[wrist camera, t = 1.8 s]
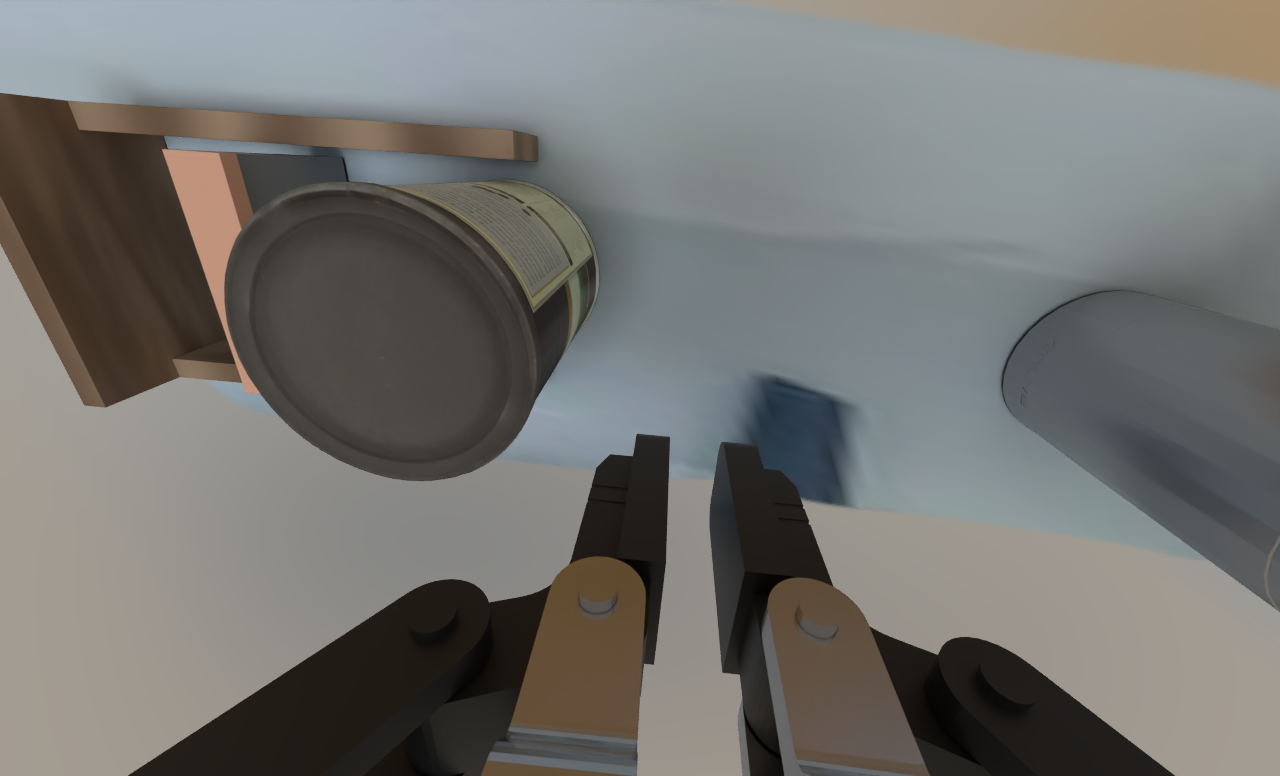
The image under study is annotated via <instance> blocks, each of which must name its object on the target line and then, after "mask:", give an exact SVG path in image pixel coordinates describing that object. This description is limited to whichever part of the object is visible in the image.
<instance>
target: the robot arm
mask: <svg viewBox="0 0 1280 776" xmlns="http://www.w3.org/2000/svg"><path fill="white" fill-rule="evenodd" d="M1003 393H1004V398H1005V402H1006V404H1007V406H1008V408H1009V410H1010V411H1011V413H1012V414H1013V415H1014V416H1015V417H1016V418H1017V419H1018V420H1019V421H1020V422H1021V423H1022V424H1024V425H1025V426H1027V427H1028V428H1029V429H1031V430H1032V431H1033V432H1035V433H1036V434H1037V435H1039V436H1040V437H1042V438H1043V439H1044V440H1046V441H1047V442H1048V443H1050V444H1051V445H1052V446H1054V447H1055V448H1057V449H1058V450H1059V451H1061V452H1062V453H1063V454H1065V455H1066V456H1067V457H1068V458H1070V459H1071V460H1072V461H1074V462H1075V463H1077V464H1078V465H1079V466H1081V467H1082V468H1083V469H1085V470H1086V471H1087V472H1089V473H1090V474H1092V475H1093V476H1094V477H1096V478H1097V479H1098V480H1100V481H1101V482H1103V483H1104V484H1105V485H1107V486H1108V487H1109V488H1111V489H1112V490H1113V491H1115V492H1116V493H1118V494H1119V495H1120V496H1122V497H1123V498H1124V499H1126V500H1127V501H1129V502H1130V503H1131V504H1133V505H1134V506H1135V507H1137V508H1138V509H1139V510H1141V511H1142V512H1144V513H1145V514H1146V515H1148V516H1149V517H1150V518H1152V519H1153V520H1155V521H1156V522H1157V523H1159V524H1160V525H1161V526H1163V527H1164V528H1166V529H1167V530H1168V531H1170V532H1171V533H1172V534H1174V535H1175V536H1176V537H1178V538H1179V539H1181V540H1182V541H1183V542H1185V543H1186V544H1187V545H1189V546H1190V547H1192V548H1193V549H1194V550H1196V551H1197V552H1198V553H1200V554H1201V555H1202V556H1204V557H1205V558H1207V559H1208V560H1209V561H1211V562H1212V563H1214V564H1215V565H1216V566H1218V567H1219V568H1220V569H1222V570H1223V571H1224V572H1226V573H1227V574H1229V575H1230V576H1231V577H1233V578H1234V579H1235V580H1237V581H1238V582H1239V583H1241V584H1242V585H1244V586H1245V587H1246V588H1248V589H1249V590H1250V591H1252V592H1253V593H1255V594H1256V595H1257V596H1259V597H1260V598H1261V599H1263V600H1264V601H1265V602H1267V603H1269V604H1270V605H1271V606H1272V607H1274V608H1275V609H1276V610H1278V611H1279V612H1280V330H1279V329H1275V328H1271V327H1268V326H1264V325H1260V324H1256V323H1252V322H1249V321H1245V320H1241V319H1237V318H1233V317H1230V316H1226V315H1222V314H1219V313H1216V312H1212V311H1208V310H1204V309H1200V308H1197V307H1193V306H1189V305H1185V304H1181V303H1178V302H1174V301H1170V300H1166V299H1162V298H1158V297H1155V296H1151V295H1147V294H1143V293H1139V292H1131V291H1111V292H1101V293H1097V294H1094V295H1090V296H1086V297H1083V298H1080V299H1078V300H1075V301H1073V302H1071V303H1069V304H1067V305H1064V306H1062V307H1060V308H1059V309H1057V310H1056V311H1054V312H1053V313H1051V314H1049V315H1048V316H1046V317H1045V318H1043V319H1042V320H1041V321H1040V322H1039V323H1038V324H1037V325H1036V326H1034V327H1033V328H1032V329H1031V330H1030V331H1029V332H1028V333H1027V334H1026V335H1025V337H1024V338H1023V339H1022V340H1021V341H1020V343H1019V344H1018V345H1017V347H1016V348H1015V350H1014V352H1013V354H1012V355H1011V357H1010V359H1009V361H1008V364H1007V367H1006V370H1005V373H1004V380H1003ZM669 450H670V437H665V436H655V435H644V434H637V436H636V442H635V448H634V454H633V457H632V456H622V455H611V454H610V455H609V456H608V457H607V458H606V459H605V460H604V461H603V462H602V463H601V464H600V465H599V466H598V467H597V468H596V472H595V476H594V479H593V483H592V488H591V490H590V494H589V497H588V503H587V505H586V508H585V512H584V516H583V519H582V522H581V526H580V530H579V534H578V537H577V541H576V544H575V548H574V552H573V555H572V559H571V561H570V564H569V565H568V566H567V567H565V568H564V569H563V570H562V571H561V572H560V573H559V574H558V575H557V576H556V578H555V579H554V581H553V583H552V584H551V585H550V586H548V587H547V588H545V589H543V590H541V591H539V592H536V593H534V594H531V595H527V596H523V597H518V598H512V599H507V600H501V601H495V602H490V603H489V602H488V599H487V597H486V595H485V594H484V592H483V591H482V590H481V589H480V588H478V587H477V586H476V585H474V584H472V583H469V582H467V581H462V580H454V579H449V580H440V581H434V582H431V583H428V584H425V585H422V586H420V587H418V588H416V589H414V590H412V591H410V592H409V593H407V594H406V595H404V596H402V597H401V598H399V599H398V600H396V601H395V602H393V603H392V604H390V605H389V606H387V607H386V608H384V609H382V610H381V611H379V612H378V613H376V614H375V615H373V616H372V617H370V618H369V619H367V620H366V621H364V622H363V623H361V624H360V625H358V626H356V627H355V628H354V629H352V630H350V631H349V632H347V633H346V634H345V635H343V636H341V637H340V638H338V639H336V640H335V641H334V642H332V643H330V644H329V645H327V646H326V647H324V648H323V649H321V650H320V651H318V652H317V653H315V654H313V655H312V656H311V657H309V658H307V659H306V660H304V661H303V662H301V663H300V664H298V665H297V666H295V667H294V668H292V669H291V670H289V671H288V672H286V673H284V674H283V675H282V676H280V677H278V678H277V679H275V680H274V681H272V682H271V683H269V684H268V685H266V686H264V687H263V688H261V689H260V690H258V691H257V692H255V693H254V694H252V695H251V696H249V697H248V698H246V699H245V700H243V701H242V702H240V703H238V704H237V705H235V706H234V707H233V708H231V709H230V710H228V711H226V712H225V713H223V714H222V715H220V716H219V717H217V718H215V719H214V720H212V721H211V722H210V723H208V724H206V725H205V726H203V727H202V728H200V729H199V730H197V731H196V732H194V733H193V734H191V735H190V736H188V737H186V738H185V739H183V740H182V741H180V742H179V743H177V744H176V745H174V746H173V747H171V748H170V749H168V750H166V751H165V752H163V753H162V754H161V755H159V756H157V757H156V758H154V759H153V760H151V761H150V762H148V763H147V764H145V765H144V766H142V767H141V768H139V769H137V770H136V771H134V772H133V773H131V774H130V775H128V776H637V756H638V755H637V739H638V722H639V704H640V696H641V687H642V678H643V667H644V664H654V659H655V651H656V642H657V633H658V624H659V617H660V608H661V599H662V591H663V582H664V573H665V565H666V541H667V538H666V537H667V510H668V509H667V508H668V480H669ZM710 536H711V548H712V560H713V571H714V583H715V593H716V605H717V616H718V628H719V639H720V651H721V662H722V672H723V673H731V674H740V679H741V688H742V701H741V705H740V709H739V714H738V731H739V741H740V752H741V763H742V773H743V776H1174V775H1173V774H1172V773H1171V772H1169V771H1168V770H1167V769H1165V768H1164V767H1163V766H1162V765H1160V764H1159V763H1158V762H1156V761H1155V760H1153V759H1152V758H1151V757H1150V756H1149V755H1147V754H1146V753H1145V752H1143V751H1142V750H1141V749H1139V748H1138V747H1137V746H1136V745H1134V744H1133V743H1131V742H1130V741H1129V740H1128V739H1126V738H1125V737H1124V736H1122V735H1121V734H1120V733H1119V732H1117V731H1116V730H1115V729H1113V728H1112V727H1111V726H1109V725H1108V724H1107V723H1106V722H1104V721H1103V720H1102V719H1100V718H1099V717H1097V716H1096V715H1095V714H1094V713H1092V712H1091V711H1090V710H1089V709H1087V708H1086V707H1085V706H1083V705H1082V704H1081V703H1080V702H1078V701H1077V700H1076V699H1074V698H1073V697H1072V696H1070V695H1069V694H1068V693H1066V692H1065V691H1064V690H1063V689H1061V688H1060V687H1059V686H1057V685H1056V684H1055V683H1054V682H1052V681H1051V680H1049V679H1048V678H1047V677H1046V676H1044V675H1043V674H1042V673H1040V672H1039V671H1038V670H1036V669H1035V668H1034V667H1033V666H1031V665H1030V664H1028V663H1027V662H1026V661H1024V660H1023V659H1021V658H1020V657H1019V656H1017V655H1015V654H1013V653H1012V652H1010V651H1008V650H1007V649H1005V648H1002V647H1001V646H999V645H996V644H993V643H991V642H988V641H985V640H981V639H978V638H970V637H959V638H954V639H951V640H949V641H947V642H946V643H945V644H944V645H943V646H942V648H941V650H940V652H939V654H938V655H936V654H934V653H931V652H928V651H926V650H923V649H920V648H918V647H915V646H913V645H910V644H907V643H905V642H902V641H900V640H897V639H894V638H892V637H889V636H887V635H885V634H882V633H880V632H879V631H876V630H875V629H873V628H871V627H870V626H869V624H868V622H867V620H866V618H865V616H864V615H863V613H862V612H861V610H860V609H859V608H858V606H857V605H856V604H855V603H854V602H853V601H852V600H851V599H850V598H849V597H848V596H846V595H845V594H843V593H842V592H841V591H839V590H838V589H836V588H834V587H833V585H832V582H831V579H830V576H829V574H828V571H827V568H826V566H825V563H824V560H823V558H822V555H821V553H820V550H819V547H818V544H817V541H816V539H815V536H814V533H813V531H812V528H811V526H810V525H809V520H808V517H807V515H806V512H805V510H804V509H803V504H802V501H801V499H800V496H799V493H798V491H797V488H796V486H795V485H794V484H793V483H792V482H791V481H790V480H789V479H788V478H787V477H786V476H785V475H784V474H783V473H782V472H781V471H779V470H768V469H764V468H763V464H762V461H761V457H760V454H759V450H758V447H757V446H756V445H751V444H740V443H729V442H721V444H720V448H719V453H718V459H717V466H716V472H715V478H714V484H713V490H712V497H711V504H710Z"/></svg>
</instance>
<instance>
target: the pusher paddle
mask: <svg viewBox="0 0 1280 776" xmlns="http://www.w3.org/2000/svg"><path fill="white" fill-rule="evenodd" d="M162 151H163V154H164V156H165V159H166V162H167V165H168V168H169V171H170V174H171V177H172V180H173V183H174V186H175V188H176V191H177V194H178V197H179V200H180V203H181V206H182V209H183V212H184V215H185V218H186V220H187V223H188V226H189V229H190V232H191V235H192V238H193V241H194V244H195V247H196V250H197V252H198V255H199V258H200V261H201V264H202V267H203V270H204V273H205V276H206V279H207V282H208V284H209V287H210V290H211V293H212V296H213V299H214V302H215V305H216V308H217V311H218V313H219V316H220V319H221V322H222V325H223V328H224V331H225V334H226V337H227V340H228V343H229V345H230V348H231V351H232V354H233V357H234V360H235V363H236V366H237V369H238V372H239V375H240V377H241V380H242V383H243V386H244V389H245V392H246V393H254V394H260V392H259V391H258V390H257V388H256V387H255V385H254V384H253V382H252V381H251V379H250V378H249V376H248V375H247V373H246V371H245V369H244V367H243V365H242V363H241V361H240V360H239V357H238V355H237V352H236V350H235V347H234V344H233V342H232V339H231V336H230V332H229V329H228V325H227V319H226V312H225V303H224V282H225V272H226V268H227V263H228V259H229V256H230V252H231V250H232V247H233V245H234V242H235V239H236V238H237V236H238V234H239V233H240V231H241V230H242V228H243V226H244V225H245V224H246V223H247V222H248V220H249V219H250V218H251V217H252V216H253V215H254V214H255V213H256V212H257V211H258V210H259V209H260V208H261V207H263V206H264V205H265V204H267V203H268V202H270V201H271V200H272V199H274V198H275V197H277V196H279V195H281V194H283V193H285V192H288V191H290V190H293V189H295V188H298V187H302V186H306V185H310V184H317V183H325V182H344V181H346V182H347V180H346V175H345V170H344V165H343V160H342V158H336V157H322V156H308V155H284V154H261V153H238V152H215V151H191V150H171V149H162Z"/></svg>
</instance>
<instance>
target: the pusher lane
mask: <svg viewBox="0 0 1280 776" xmlns="http://www.w3.org/2000/svg"><path fill="white" fill-rule="evenodd" d="M163 136H177V137H191V138H206V139H220V140H235V141H249V142H264V143H278V144H292V145H307V146H321V147H336V148H350V149H365V150H379V151H394V152H408V153H422V154H437V155H451V156H466V157H480V158H495V159H509V160H524V161H538V149H537V136H533V135H529V134H525V133H521V132H517V131H513V130H499V129H484V128H469V127H454V126H439V125H424V124H409V123H394V122H378V121H363V120H348V119H333V118H318V117H303V116H288V115H273V114H258V113H243V112H228V111H213V110H198V109H183V108H168V107H153V106H138V105H123V104H108V103H93V102H78V101H65V100H56V99H47V98H39V97H30V96H21V95H13V94H4V93H0V244H1V246H2V248H3V250H4V252H5V254H6V255H7V257H8V259H9V261H10V263H11V265H12V267H13V269H14V271H15V273H16V275H17V276H18V279H19V280H20V282H21V284H22V286H23V288H24V290H25V292H26V294H27V296H28V298H29V300H30V302H31V303H32V305H33V307H34V309H35V311H36V313H37V315H38V317H39V319H40V321H41V323H42V325H43V327H44V328H45V330H46V332H47V334H48V336H49V338H50V340H51V342H52V344H53V346H54V348H55V350H56V352H57V354H58V355H59V357H60V359H61V361H62V363H63V365H64V367H65V369H66V371H67V373H68V375H69V377H70V378H71V380H72V382H73V384H74V386H75V388H76V390H77V392H78V394H79V396H80V398H81V400H82V402H83V404H84V405H86V406H97V407H108V406H110V405H113V404H115V403H117V402H120V401H123V400H125V399H127V398H130V397H132V396H135V395H137V394H139V393H142V392H144V391H147V390H149V389H152V388H154V387H156V386H159V385H161V384H164V383H166V382H169V381H171V380H173V379H176V378H178V377H186V378H197V379H207V380H218V381H229V382H240V383H242V380H241V377H240V375H239V372H238V369H237V366H236V363H235V360H234V357H233V354H232V351H231V348H230V345H229V343H228V340H227V337H226V334H225V331H224V328H223V325H222V322H221V319H220V316H219V313H218V311H217V308H216V305H215V302H214V299H213V296H212V293H211V290H210V287H209V284H208V282H207V279H206V276H205V273H204V270H203V267H202V264H201V261H200V258H199V255H198V252H197V250H196V247H195V244H194V241H193V238H192V235H191V232H190V229H189V226H188V223H187V220H186V218H185V215H184V212H183V209H182V206H181V203H180V200H179V197H178V194H177V191H176V188H175V186H174V183H173V180H172V177H171V174H170V171H169V168H168V165H167V162H166V159H165V156H164V154H163V151H162V149H167V147H166V144H165V141H164V138H163Z"/></svg>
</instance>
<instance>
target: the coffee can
mask: <svg viewBox="0 0 1280 776" xmlns="http://www.w3.org/2000/svg"><path fill="white" fill-rule="evenodd" d="M598 287H599V266H598V259H597V254H596V250H595V247H594V244H593V242H592V240H591V237H590V235H589V233H588V231H587V229H586V228H585V226H584V225H583V223H582V222H581V220H580V219H579V218H578V216H577V215H576V214H575V213H574V212H573V211H572V210H571V208H570V207H569V206H568V205H566V204H565V203H564V202H563V201H562V200H561V199H559V198H558V197H557V196H555V195H554V194H553V193H551V192H549V191H547V190H546V189H543V188H541V187H538V186H536V185H534V184H531V183H527V182H523V181H518V180H510V179H500V180H491V181H486V182H467V183H438V184H413V185H379V184H373V183H362V182H346V181H344V182H325V183H317V184H310V185H306V186H302V187H298V188H295V189H293V190H290V191H288V192H285V193H283V194H281V195H279V196H277V197H275V198H274V199H272V200H271V201H270V202H268V203H267V204H265V205H264V206H263V207H261V208H260V209H259V210H258V211H257V212H256V213H255V214H254V215H253V216H252V217H251V218H250V219H249V220H248V222H247V223H246V224H245V225H244V226H243V228H242V230H241V231H240V233H239V234H238V236H237V238H236V239H235V242H234V245H233V247H232V250H231V252H230V256H229V259H228V263H227V268H226V272H225V282H224V303H225V312H226V319H227V325H228V329H229V332H230V336H231V339H232V342H233V344H234V347H235V350H236V352H237V355H238V357H239V360H240V361H241V363H242V365H243V367H244V369H245V371H246V373H247V375H248V376H249V378H250V379H251V381H252V382H253V384H254V385H255V387H256V388H257V390H258V391H259V392H260V394H261V395H262V396H263V398H264V399H265V400H266V401H267V403H268V404H269V405H270V406H271V408H272V409H273V410H274V411H275V412H276V413H277V414H278V415H279V416H280V417H281V418H282V419H283V420H284V421H285V422H286V423H287V424H288V425H289V426H290V427H291V428H292V429H293V430H294V431H296V432H297V433H298V434H299V435H300V436H302V437H303V438H304V439H306V440H307V441H309V442H310V443H311V444H312V445H314V446H316V447H318V448H319V449H320V450H321V451H324V452H326V453H327V454H329V455H331V456H333V457H334V458H336V459H338V460H340V461H342V462H344V463H347V464H349V465H352V466H354V467H356V468H359V469H361V470H364V471H367V472H370V473H373V474H376V475H380V476H384V477H388V478H392V479H401V480H408V481H432V480H439V479H446V478H452V477H456V476H459V475H462V474H466V473H469V472H472V471H474V470H476V469H478V468H480V467H482V466H484V465H486V464H487V463H489V462H490V461H492V460H493V459H495V458H496V457H497V456H499V455H500V454H501V453H502V452H503V451H504V450H505V449H506V448H507V447H508V446H509V445H510V444H511V443H512V442H513V441H514V439H515V438H516V437H517V435H518V434H519V432H520V431H521V430H522V428H523V426H524V424H525V422H526V421H527V419H528V416H529V414H530V412H531V410H532V407H533V405H534V402H535V400H536V398H537V397H538V395H539V394H540V392H541V390H542V389H543V387H544V385H545V384H546V382H547V380H548V379H549V377H550V376H551V374H552V372H553V371H554V369H555V367H556V366H557V364H558V362H559V361H560V359H561V358H562V356H563V355H564V353H565V352H566V350H567V349H568V347H569V345H570V343H571V342H572V340H573V339H574V337H575V335H576V334H577V332H578V330H579V329H580V328H581V327H582V326H583V324H584V323H585V322H586V320H587V319H588V317H589V315H590V313H591V311H592V309H593V307H594V304H595V301H596V298H597V294H598Z"/></svg>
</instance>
